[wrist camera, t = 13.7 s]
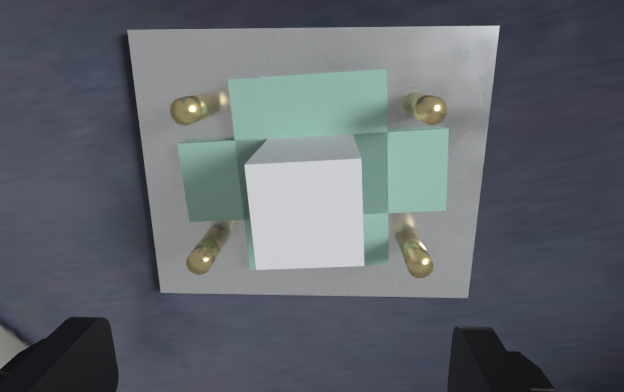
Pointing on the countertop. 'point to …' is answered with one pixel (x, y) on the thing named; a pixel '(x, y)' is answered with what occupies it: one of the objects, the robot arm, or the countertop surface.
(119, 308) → the countertop surface
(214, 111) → the chassis plate
